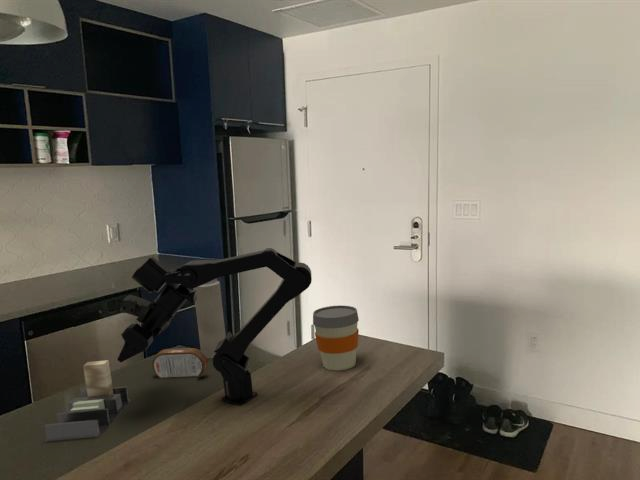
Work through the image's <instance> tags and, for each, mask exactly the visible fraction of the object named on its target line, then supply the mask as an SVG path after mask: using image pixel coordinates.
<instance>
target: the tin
mask: <svg viewBox="0 0 640 480" xmlns="http://www.w3.org/2000/svg"><path fill="white" fill-rule="evenodd" d="M208 362H209V361H208V358H206V356H205V355H204V353H203V352H201V349H198V348H194V347H188V348H187V347H185V348H183V347H182V348H165V349H162V350H160V351H158V352H157V354H156V355H155V356H154V357H153V359H152V364H151V366H152V368H151V369H152V371H153V372H154V374H155V376H156V377H157V378H160V379H163V378H178V377H179V378H182V377H183V378H185V377H196V379H199V378H200V377H201V376H202V375H203V374H204V373H205V372H207V369H208V364H209V363H208Z"/></svg>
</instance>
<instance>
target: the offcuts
mask: <svg viewBox="0 0 640 480" xmlns="http://www.w3.org/2000/svg"><path fill="white" fill-rule="evenodd" d="M72 405H73V408H72V409H71V410H70V411H71V412H74V411H85V410H96V409H105V406H104V399H100V400H89V401H78V402H75V403H74V404H72Z"/></svg>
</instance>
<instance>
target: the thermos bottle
mask: <svg viewBox="0 0 640 480" xmlns="http://www.w3.org/2000/svg"><path fill="white" fill-rule="evenodd" d="M194 290H196V291H197V292H196V295H197V301H196V302H195V303H194V305H195V314H196V321H197V322H196V323H197V329H198V339H199V346H200V351H201V352H203V353H204V355H205V356H206V358H207V359H213V357H214V355H215V353H216V352H214V350H215V349H216V347H217V345H218V343H219V342H220V341H222V340H223V339H224V338H225V337H226V335H227V333H226V327H225V325H226V324H225V318H224V310H223V309H224V308H223V300H222V291H221V283H220V280H218V278H216V279H214V280H212V281H210V282H208V283H205V284H203V285H201V286H198V287H196V288H193V291H194Z"/></svg>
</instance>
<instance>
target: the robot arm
mask: <svg viewBox="0 0 640 480" xmlns="http://www.w3.org/2000/svg"><path fill="white" fill-rule="evenodd" d="M262 268H268V269H269V270H271V271H272V272H273V273H275V274H276V275H277V277H278V276H279V278H281V279H282V280H281V281H280V283H279V285H278V287H277V289H276V290H275V291H274V292H273V293H272V294H271V296H270V297H269V298H267V300H266V301H265V302H264V303H263V304H262V305H261V306H260V308H258V309H257V311H256V312H255V313H254V314H253V315H252V316H251V317H250V318H249V320H248V321H247V322H246V323H245V324H244V325H243V326H242V327H241V329H240V330H238V331H237V332H236V333H234V334H232V333H231V331H228V332H227V333H226V337H225V338H224V339H223V340H222V341H220V342H219V343H218V345H217V347H216V349H215V350H214V352H216V353H215V355H214V357H213V358H212V365H213V367H214V369H215V370H216V371H217V372H219V373H220V375H221V377H222V378H223V380H222V382H223V390H224V391H223V392H224V396H222V397H221V398H220V400H221V401H222V400H224V401H223V402H226V401H228V402H227V403H229V402H231V403H230V404H233V403H235V405H237V404H238V406H241V405H242V404H244V403H246V402H248V401H250V400H251V399H253V398H254V396H255V397H256V396H257V394H258V392H257V391H254V390H253V382H252V373H251V372H250V371H249V370H248V367H249V365H250V361H251V358H250V357H249V356H248V355H246V354H245V352H246V351H247V349H248V348H249V346H250V344H252V342H254V340H255V339H256V338H257V336H258V335H260V333H261V332H262V331H263V330H264V329H265V328H266V326H267V325H268V324H270V322H271V321H272V320H273V318H275V317H276V316H277V314H278V313H280V311H281V310H282V309H283V308H284V307H285V306H286V304H288V303H289V302H290V301H291V300H293V299H295V298H297V297H298V296H300V295H301V294H302V293H304V292H305V291H306V290H308V288H309V287H310V285H311V284H312V280H313V278H312V270H311V268H310V266H309V265H308V264H306V263H305V262H296V261H294V260H293V259H292V258H289V257H287V256H286V255H284V254H282V253H280V252H279V251H277V250H276V249H274V248H272V247H268V248H265V249H262V250H258V251H254V252H253V251H252V252H249V253H245V254H240V255H236V256H231V257H227V258H226V257H225V258H222V259H216V260H215V259H214V260H212V259H197V260H196V259H195V260H191V261H188V262H187V263H185V264H184V265H183V266H181V267H177V268H173V269H170V270H169V269H168V268H166V267H165V266H164V265H163V264H161V262H159V261H158V259H156V258H155V257H154V256H151V257H149V258H148V259H147V260H146V261H145V262H144V263H143V264H142V265H141V266H140V267H139V268H137V269H136V270H135V271H134V272H133V275H132V276H131V280H133V281H134V282H136V283H137V284H138V285H139V286H141V287H142V288H143V289H144V290H146V291H148V293H149V294H151V293H153V294H154V292H156V293H159V292H160V291H161V290H162V289H163V287H164V286H165V285H166V286H165V288H164V289H163V290H162V291H161V293H160V294H159V295H158V296H157V297H156V298H154V300H152V301H150V300H147V299H145V298H142V297H139V296H136V295H133V294H128V295H127V296H125V297H124V298H123V300H122V302H121V303H120V304H119V306H120V311H119V312H121V313H123V314H128V315H131V316H134V317H137V318H136V321H137V322H139V323H140V324H141V325H140V324H138V323H131V324H130V325H129V326H127V327H126V328H125V329H124V331H123V332H122V333H121V334H120V336H121V338H122V339H123V340H124V344H123V347H122V349H121V351H120V352H119V355H118V356H117V361H118V362H119V363H124V362H125V361H127V360H129V359H130V358H133V357H135V356H136V355H138V354H141V353H144V352H145V351H146V350H147V349H148V348H149V346H151V344H152V343H153V342H154V338H156V337H157V336H159V335H161V334H162V333H163V332H164V331H165V330H166V329H167V327H169V325H170V324H171V319H173V318H174V317H175V315H176V314H177V313H178V311H179V310H180V309H181V308H182V306H183V305H184V304H185V303H186V301H188V302H189V303H190V304H192V305H195V302H196V301H197V295H196V292H197V291H196V290H194V289H193V288H196V287H198V286H201V285H203V284H205V283H208V282H210V281H212V280H214V279H216V278H217V279H218V278H222V277H227V276H230V275H234V274H239V273H244V272H248V271H253V270H258V269H262ZM192 289H193V290H192Z"/></svg>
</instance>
